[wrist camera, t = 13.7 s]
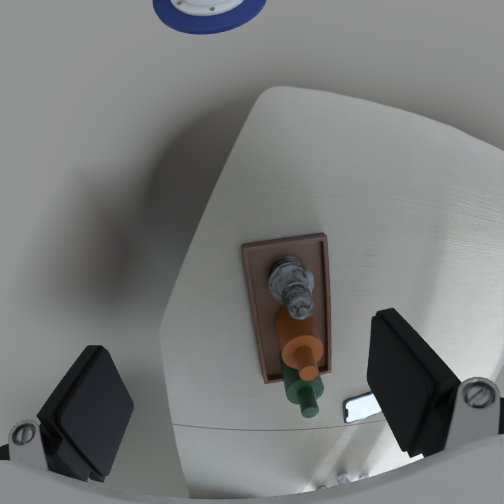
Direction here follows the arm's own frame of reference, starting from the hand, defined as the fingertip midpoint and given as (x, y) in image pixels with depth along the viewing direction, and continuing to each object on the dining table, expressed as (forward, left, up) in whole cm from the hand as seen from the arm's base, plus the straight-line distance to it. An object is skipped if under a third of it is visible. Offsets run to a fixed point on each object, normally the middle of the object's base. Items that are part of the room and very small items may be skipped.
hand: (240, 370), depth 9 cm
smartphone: (+40, +22, -30) cm, 55 cm away
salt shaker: (+8, +5, -30) cm, 31 cm away
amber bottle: (+16, +5, -30) cm, 34 cm away
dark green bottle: (+22, +5, -30) cm, 38 cm away
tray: (+15, +5, -30) cm, 34 cm away
